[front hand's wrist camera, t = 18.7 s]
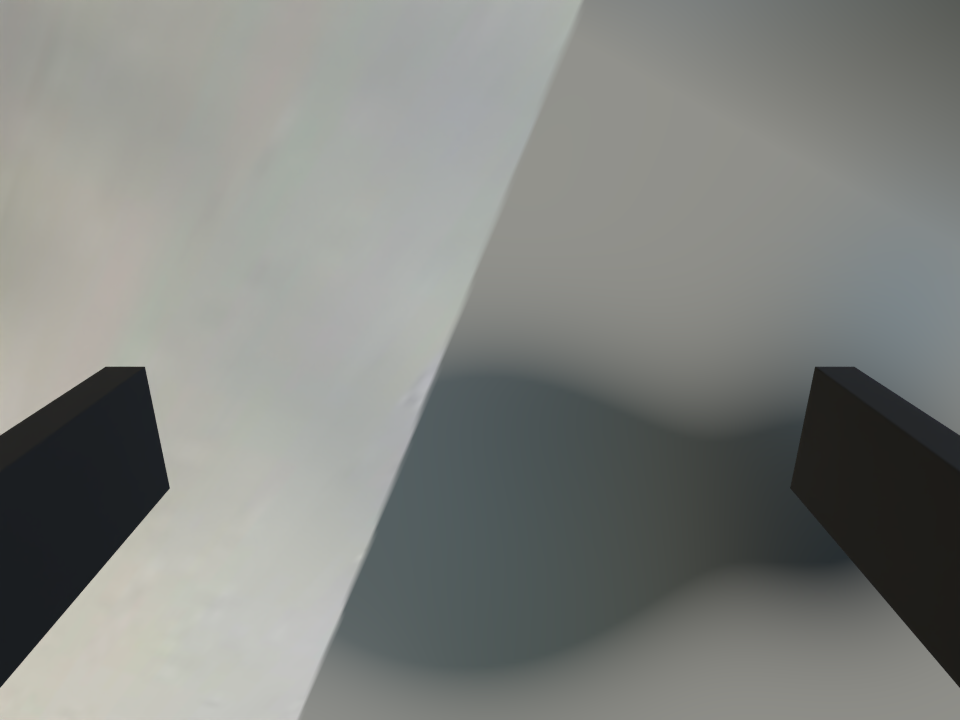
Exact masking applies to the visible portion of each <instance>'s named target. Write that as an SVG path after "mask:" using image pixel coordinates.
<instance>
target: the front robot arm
mask: <svg viewBox="0 0 960 720" xmlns="http://www.w3.org/2000/svg"><path fill="white" fill-rule="evenodd" d="M169 488H170V487H169V482H168V477H167V473H166V468H165V463H164V458H163V453H162V448H161V443H160V438H159V434H158V429H157V424H156V419H155V414H154V409H153V404H152V399H151V395H150V390H149V385H148V380H147V375H146V370H145V367H105V368H103V369H102V370H100V371H99V372H97V373H95V374H94V375H92V376H91V377H89V378H88V379H86V380H85V381H83V382H82V383H80V384H79V385H77V386H76V387H74V388H72V389H71V390H69V391H68V392H66V393H65V394H63V395H62V396H60V397H59V398H57V399H56V400H54V401H53V402H51V403H49V404H48V405H46V406H45V407H43V408H42V409H40V410H39V411H37V412H36V413H34V414H33V415H31V416H29V417H28V418H26V419H25V420H23V421H22V422H20V423H19V424H17V425H16V426H14V427H13V428H11V429H10V430H8V431H6V432H5V433H3V434H2V435H0V687H1V686H2V685H3V684H4V683H5V681H6V680H7V679H8V678H9V677H10V676H11V674H12V673H13V672H14V671H15V670H16V668H17V667H18V666H19V665H20V664H21V663H22V661H23V660H24V659H25V658H26V657H27V656H28V654H29V653H30V652H31V651H32V650H33V648H34V647H35V646H36V645H37V644H38V643H39V641H40V640H41V639H42V638H43V637H44V636H45V634H46V633H47V632H48V631H49V630H50V628H51V627H52V626H53V625H54V624H55V623H56V621H57V620H58V619H59V618H60V617H61V616H62V614H63V613H64V612H65V611H66V610H67V608H68V607H69V606H70V605H71V604H72V603H73V601H74V600H75V599H76V598H77V597H78V596H79V594H80V593H81V592H82V591H83V590H84V588H85V587H86V586H87V585H88V584H89V583H90V581H91V580H92V579H93V578H94V577H95V576H96V574H97V573H98V572H99V571H100V570H101V568H102V567H103V566H104V565H105V564H106V563H107V561H108V560H109V559H110V558H111V557H112V556H113V554H114V553H115V552H116V551H117V550H118V548H119V547H120V546H121V545H122V544H123V543H124V541H125V540H126V539H127V538H128V537H129V536H130V534H131V533H132V532H133V531H134V530H135V528H136V527H137V526H138V525H139V524H140V523H141V521H142V520H143V519H144V518H145V517H146V516H147V514H148V513H149V512H150V511H151V510H152V508H153V507H154V506H155V505H156V504H157V503H158V501H159V500H160V499H161V498H162V497H163V495H164V494H165V493H166V492H167V491H168V490H169ZM790 488H791V490H792V491H793V492H794V493H795V494H796V495H797V497H798V498H799V499H800V500H801V501H802V503H803V504H804V505H805V506H806V507H807V508H808V510H809V511H810V512H811V513H812V514H813V515H814V517H815V518H816V519H817V520H818V521H819V523H820V524H821V525H822V526H823V527H824V528H825V530H826V531H827V532H828V533H829V534H830V535H831V537H832V538H833V539H834V540H835V541H836V542H837V544H838V545H839V546H840V547H841V548H842V550H843V551H844V552H845V553H846V554H847V556H848V557H849V558H850V559H851V560H852V561H853V563H854V564H855V565H856V566H857V567H858V568H859V570H860V571H861V572H862V573H863V574H864V575H865V577H866V578H867V579H868V580H869V581H870V583H871V584H872V585H873V586H874V587H875V588H876V590H877V591H878V592H879V593H880V594H881V595H882V597H883V598H884V599H885V600H886V601H887V603H888V604H889V605H890V606H891V607H892V608H893V610H894V611H895V612H896V613H897V614H898V616H899V617H900V618H901V619H902V620H903V621H904V623H905V624H906V625H907V626H908V627H909V628H910V630H911V631H912V632H913V633H914V634H915V635H916V637H917V638H918V639H919V640H920V641H921V643H922V644H923V645H924V646H925V647H926V648H927V650H928V651H929V652H930V653H931V654H932V655H933V657H934V658H935V659H936V660H937V661H938V663H939V664H940V665H941V666H942V667H943V668H944V670H945V671H946V672H947V673H948V674H949V676H950V677H951V678H952V679H953V680H954V681H955V683H956V684H957V685H958V686H959V687H960V435H958V434H957V433H955V432H954V431H952V430H950V429H949V428H947V427H946V426H944V425H943V424H941V423H940V422H938V421H937V420H935V419H934V418H932V417H931V416H929V415H927V414H926V413H924V412H923V411H921V410H920V409H918V408H917V407H915V406H914V405H912V404H911V403H909V402H907V401H906V400H904V399H903V398H901V397H900V396H898V395H897V394H895V393H894V392H892V391H891V390H889V389H887V388H886V387H884V386H883V385H881V384H880V383H878V382H877V381H875V380H874V379H872V378H871V377H869V376H868V375H866V374H864V373H863V372H861V371H860V370H858V369H857V368H855V367H815V371H814V375H813V380H812V385H811V390H810V395H809V399H808V404H807V409H806V414H805V419H804V424H803V429H802V434H801V438H800V443H799V448H798V453H797V458H796V463H795V468H794V473H793V478H792V482H791V487H790Z"/></svg>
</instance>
